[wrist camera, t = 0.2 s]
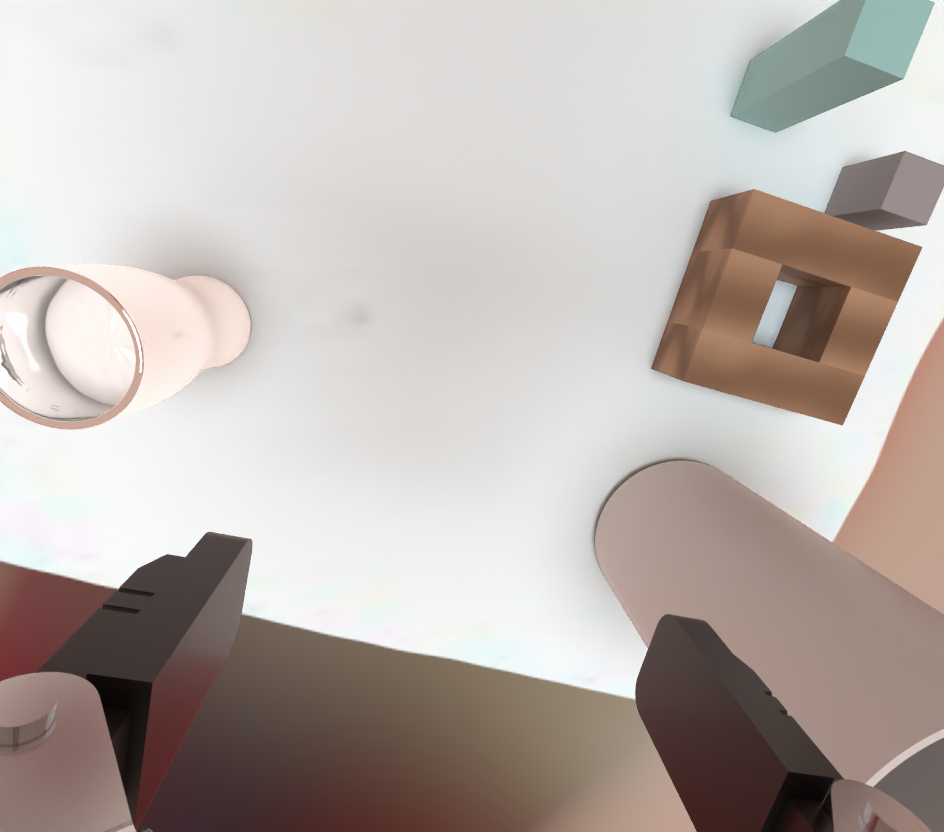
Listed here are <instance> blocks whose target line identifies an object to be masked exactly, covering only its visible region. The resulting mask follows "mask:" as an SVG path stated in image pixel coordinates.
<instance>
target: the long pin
mask: <svg viewBox="0 0 944 832" xmlns="http://www.w3.org/2000/svg"><path fill="white" fill-rule="evenodd" d="M933 6H934V2H932V1H929V0H840V1H838V2H837V3H835V4H834V5H832V6H831V7H829V8H828V9H826V10H825V11H823V12H822V13H820V14H819V15H817V16H816V17H814V18H813V19H811V20H810V21H808V22H807V23H805V24H804V25H802V26H801V27H800V28H798V29H797V30H795V31H794V32H792V33H791V34H789V35H788V36H786V37H785V38H783V39H782V40H780V41H779V42H777V43H776V44H774V45H773V46H771V47H770V48H768V49H767V50H765V51H764V52H762V53H761V54H759V55H758V56H756V57H755V58H753V59H752V60H750V62H749V65H748V68H747V71H746V73H745V76H744V79H743V82H742V85H741V88H740V90H739V93H738V96H737V99H736V102H735V105H734V107H733V110H732V113H731V117H734V118H737V119H740V120H742V121H745V122H748V123H751V124H753V125H756V126H759V127H762V128H764V129H767V130H770V131H773V132H778V131H780V130H783V129H785V128H787V127H790V126H792V125H794V124H797V123H799V122H802V121H804V120H806V119H809V118H811V117H814V116H816V115H818V114H821V113H823V112H825V111H828V110H830V109H833V108H835V107H837V106H840V105H842V104H845V103H847V102H849V101H852V100H854V99H857V98H859V97H861V96H864V95H866V94H868V93H871V92H873V91H876V90H878V89H880V88H883V87H885V86H888V85H890V84H892V83H895V82H897V81H900V80H902V79H904V76H905V74H906V71H907V69H908V66H909V64H910V62H911V59H912V57H913V54H914V52H915V49H916V47H917V45H918V42H919V40H920V37H921V35H922V32H923V30H924V28H925V25H926V23H927V20H928V18H929V15H930V13H931V10H932V8H933Z"/></svg>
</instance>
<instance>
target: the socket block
mask: <svg viewBox="0 0 944 832" xmlns="http://www.w3.org/2000/svg"><path fill="white" fill-rule="evenodd" d="M921 249H922V247H920V246H918V245H915V244H912V243H909V242H906V241H903V240H900V239H897V238H894V237H891V236H888V235H886V234H883V233H880V232H877V231H874V230H871V229H868V228H865V227H862V226H859V225H857V224H854V223H851V222H848V221H845V220H842V219H839V218H836V217H833V216H830V215H827V214H825V213H822V212H819V211H816V210H813V209H810V208H807V207H804V206H801V205H798V204H795V203H793V202H790V201H787V200H784V199H781V198H778V197H775V196H772V195H769V194H766V193H763V192H761V191H758V190H755V189H753V190H750V191H746V192H742V193H739V194H735V195H731V196H728V197H724V198H721V199H717V200H713V201H711V202H710V205H709V208H708V211H707V214H706V216H705V219H704V222H703V225H702V228H701V230H700V233H699V236H698V239H697V242H696V244H695V247H694V250H693V253H692V256H691V259H690V261H689V264H688V267H687V270H686V273H685V275H684V278H683V281H682V284H681V287H680V289H679V292H678V295H677V298H676V301H675V303H674V306H673V309H672V312H671V315H670V318H669V320H668V323H667V326H666V329H665V332H664V334H663V337H662V340H661V343H660V346H659V348H658V351H657V354H656V357H655V360H654V362H653V365H652V368H651V369H654V370H656V371H659V372H661V373H664V374H667V375H669V376H672V377H674V378H677V379H679V380H682V381H685V382H689V383H692V384H696V385H699V386H703V387H707V388H710V389H714V390H717V391H721V392H725V393H728V394H732V395H735V396H739V397H742V398H746V399H750V400H753V401H757V402H760V403H764V404H768V405H771V406H775V407H778V408H782V409H786V410H789V411H793V412H796V413H800V414H804V415H807V416H811V417H814V418H818V419H822V420H825V421H829V422H832V423H836V424H839V425H843V424H844V421H845V419H846V417H847V415H848V412H849V410H850V408H851V406H852V403H853V401H854V399H855V397H856V395H857V392H858V390H859V388H860V386H861V383H862V381H863V379H864V377H865V374H866V372H867V370H868V368H869V365H870V363H871V361H872V359H873V356H874V354H875V352H876V350H877V347H878V345H879V343H880V341H881V339H882V336H883V334H884V332H885V330H886V327H887V325H888V323H889V321H890V318H891V316H892V314H893V312H894V309H895V307H896V305H897V303H898V300H899V298H900V296H901V294H902V292H903V289H904V287H905V285H906V283H907V280H908V278H909V276H910V274H911V271H912V269H913V267H914V265H915V262H916V260H917V258H918V256H919V253H920V251H921ZM776 279H778V280H781V281H784V282H788V283H791V284H794V285H797V286H798V288H797V290H796V293H795V295H794V298H793V300H792V303H791V305H790V308H789V310H788V313H787V315H786V318H785V320H784V322H783V325H782V327H781V330H780V332H779V335H778V337H777V340H776V342H775V345H774V347H773V349H772V348H768V347H765V346H762V345H758V344H755V343H752V340H753V338H754V335H755V333H756V330H757V328H758V325H759V323H760V320H761V318H762V315H763V313H764V310H765V307H766V305H767V302H768V300H769V297H770V295H771V292H772V290H773V287H774V285H775V282H776Z"/></svg>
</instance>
